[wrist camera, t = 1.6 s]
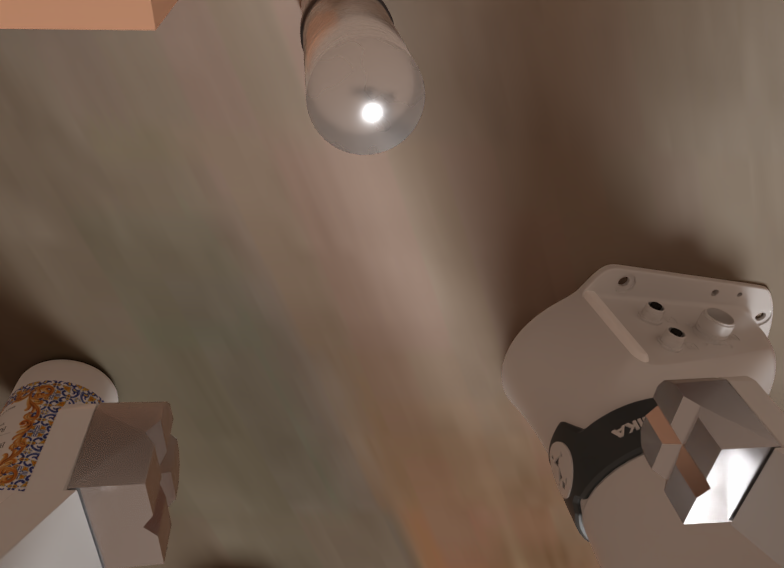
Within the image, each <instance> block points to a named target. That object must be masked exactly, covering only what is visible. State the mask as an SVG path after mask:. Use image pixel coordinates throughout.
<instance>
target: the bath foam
mask: <svg viewBox="0 0 784 568" xmlns="http://www.w3.org/2000/svg"><path fill="white" fill-rule="evenodd" d="M115 402H118V394H117V390H116V388H115V386H114V384H113V383H112V381H111V380H110V379H109V378H108V377H107V376H106V375H105V374H104V373H103V372H101V371H100V370H98V369H97V368H95V367H93V366H91V365H88V364H85V363H82V362H79V361H74V360H64V359H59V360H50V361H45V362H42V363H39V364H36V365H34V366H32V367H31V368H29V369H28V370H27V371H25V372H24V373H23V374H22V376H21V377H20V378H19V380H18V382H17V384H16V386H15V387H14V389H13V391H12V393H11V395H10V397H9V399H8V400H7V402H6V404H5V406H4V408H3V410H2V412H1V414H0V503H1V502H3V501H4V500H5V499H6V498H8V497H9V496H10V495H11V494H14V493H24V491H25V488H26V486H27V483H28V481H29V479H30V476H31V474H32V472H33V469H34V467H35V464H36V462H37V460H38V457H39V455H40V453H41V450H42V448H43V446H44V443H45V441H46V438H47V436H48V434H49V431H50V429H51V427H52V424H53V422H54V419H55V417H56V415H57V412H58V411H59V410H60V409H61V408H62V407H63V406H64V405H65V404H100V403H115Z"/></svg>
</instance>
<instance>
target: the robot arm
mask: <svg viewBox="0 0 784 568" xmlns="http://www.w3.org/2000/svg"><path fill="white" fill-rule="evenodd" d="M623 277H628V280H627V281H626V282H625V283H624V284H618V282H619V280H620V279H621V278H623ZM714 290H715V291H714ZM712 291H714V292H712ZM761 312H764V313H763V315H762V316H761V317H760V318H758V319H755V317H756V315H757V314H759V313H761ZM772 316H773V302H772V297H771V294H770V291H769V290H768V289H767V287H765V286H762V285H756V284H750V283H743V282H736V281H729V280H722V279H715V278H708V277H701V276H694V275H687V274H680V273H673V272H667V271H660V270H653V269H646V268H639V267H632V266H625V265H618V264H610V265H606V266H604V267H602V268H600V269H599V270H597V271H596V272H595V273H594V274H593V275H592V276H591V277H590V278H589V279H588V280H587V281H586V282H585V283H584V284H583V285H582V286H581V287H580V288H579V289H578V290H577V291H575V292H574V293H573V294H571V295H569V296H568V297H566V298H564V299H562V300H561V301H559V302H557V303H555V304H554V305H552V306H550V307H549V308H547V309H546V310H544V311H543V312H541V313H540V314H538V315H537V316H536V317H535V318H533V319H532V320H531V321H530V322H529V323H528V324H527V325H526V326H525V327H524V328H523V329H522V330H521V331H520V332H519V333H518V335H517V336H516V337H515V339H514V340H513V342H512V343H511V345H510V347H509V349H508V351H507V353H506V355H505V358H504V361H503V366H502V384H503V388H504V391H505V393H506V395H507V397H508V399H509V400H510V401H511V403H512V404H513V405H514V406H515V407H516V408H517V409H518V410H519V411H520V412H521V414H522V415H523V416H524V417H525V419H526V420H527V421H528V423H529V424H530V426H531V427H532V429H533V430H534V432H535V433H536V435H537V436H538V438H539V440H540V441H541V443H542V444H543V446H544V448H545V449H546V451H547V453H548V455H549V462H550V465H551V468H552V472H553V475H554V478H555V481H556V484H557V486H558V489H559V491H560V493H561V495H562V497H563V498H564V501H565V503H566V506H567V508H568V510H569V512H570V514H571V516H572V518H573V521H574V523H575V525H576V527H577V529H578V531H579V533H580V534H581V535H582V537H583V538H584V539H586V540H587V541H588V542H590V544H591V547H592V549H593V551H594V554H595V556H596V558H597V561H598V563H599V565H600V568H784V413H783V411H782V410H781V409H780V408H779V407H778V406H777V405H776V403H775V402H774V401H773V400H772V399H771V398H770V396H769V393H770V390H771V388H772V385H773V381H774V377H775V371H776V358H775V353H774V350H773V347H772V345H771V343H770V341H769V339H768V338H767V337H768V334H769V331H770V327H771V322H772ZM172 423H173V415H172V410H171V406H170V403H168V402H115V403H100V404H65V405H64V406H63V407H62V408H61V409H60V410H59V411H58V412H57V415H56V417H55V419H54V422H53V424H52V427H51V429H50V431H49V434H48V436H47V438H46V441H45V443H44V446H43V448H42V450H41V453H40V455H39V457H38V460H37V462H36V464H35V467H34V469H33V472H32V474H31V476H30V479H29V481H28V483H27V486H26V488H25V491H24V493H14V494H11V495H10V496H9V497H8V498H6V499H5V500H4V501H3V502H1V503H0V568H127V567H136V566H146V565H156V564H164V561H165V556H166V550H167V545H168V540H169V534H170V529H171V520H170V515H169V510H168V507H169V506H170V505H171V504H172V503H173V502H174V501H175V500H176V496H177V490H178V484H179V468H180V461H179V448H178V442H177V439H176V438H175V437H174V436H173V435H171V434H170V433H171V428H172Z"/></svg>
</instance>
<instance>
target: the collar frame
mask: <svg viewBox="0 0 784 568" xmlns="http://www.w3.org/2000/svg"><path fill="white" fill-rule="evenodd" d="M177 1H178V0H0V29H81V30H156V29H157V28H158V26H159V25H160V24H161V22H162V21H163V20H164V18H165V17H166V16H167V14H168V13H169V12H170V10H171V9H172V8H173V6H174V5H175V4H176V2H177Z"/></svg>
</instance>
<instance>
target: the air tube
mask: <svg viewBox="0 0 784 568" xmlns="http://www.w3.org/2000/svg"><path fill="white" fill-rule="evenodd" d="M301 11H302V18H301V26H300V34H301V44H302V48H303V51H304V66H305V85H306V101H307V108H308V113H309V116H310V118H311V121H312V123H313V125H314V127H315V128H316V130H317V131H318V132H319V134H320V135H321V136H322V137H323V138H324V139H325V140H326V141H327V142H329V143H330V144H331V145H333V146H334V147H336V148H338V149H340V150H342V151H345V152H348V153H352V154H358V155H370V154H377V153H381V152H384V151H387V150H389V149H391V148H393V147H395V146H397V145H398V144H400V143H401V142H402V141H403V140H405V139H406V138H407V137H408V136H409V135H410V134H411V132H412V131H413V130H414V128H415V127H416V125H417V123H418V122H419V120H420V117H421V115H422V112H423V108H424V102H425V87H424V82H423V78H422V75H421V72H420V70H419V68H418V66H417V64H416V63H415V61H414V59H413V57H412V56H411V54H410V52H409V50H408V49H407V47H406V45H405V43H404V42H403V40H402V38H401V36H400V34H399V33H398V31H397V29H396V27H395V26H394V23H393V20H392V17H391V15H390V12H389V11H388V9H387V7H386V5H385V4H384V2H383V1H382V0H301Z"/></svg>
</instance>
